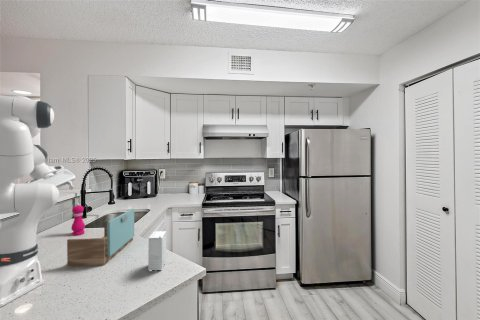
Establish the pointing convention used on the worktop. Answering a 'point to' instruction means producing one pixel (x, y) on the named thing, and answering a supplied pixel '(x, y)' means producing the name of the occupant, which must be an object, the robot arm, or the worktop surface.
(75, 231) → the pepper mill
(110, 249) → the tailgate
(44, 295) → the worktop surface
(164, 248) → the skincare box
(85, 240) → the box
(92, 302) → the worktop surface
